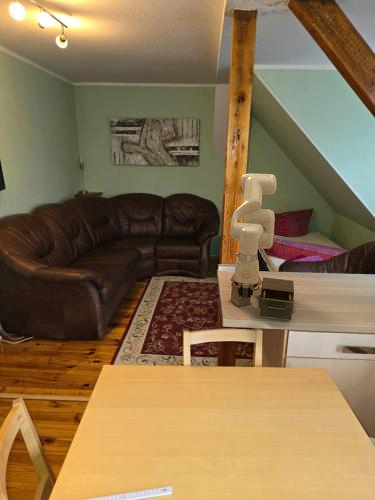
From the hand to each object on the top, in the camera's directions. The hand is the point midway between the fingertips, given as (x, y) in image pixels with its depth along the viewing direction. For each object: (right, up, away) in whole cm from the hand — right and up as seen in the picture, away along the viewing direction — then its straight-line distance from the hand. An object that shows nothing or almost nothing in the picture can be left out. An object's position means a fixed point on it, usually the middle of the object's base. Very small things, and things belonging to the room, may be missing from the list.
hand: (245, 295), depth 146 cm
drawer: (+14, -9, +3) cm, 17 cm away
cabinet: (+18, -6, +15) cm, 24 cm away
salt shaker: (0, 0, 0) cm, 0 cm away
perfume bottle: (0, -6, +16) cm, 17 cm away
